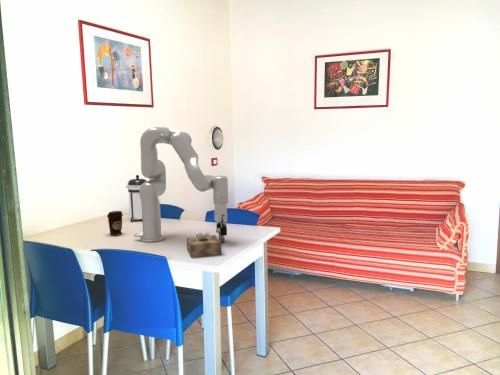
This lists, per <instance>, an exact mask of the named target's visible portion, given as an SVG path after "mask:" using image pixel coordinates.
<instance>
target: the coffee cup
mask: <svg viewBox="0 0 500 375" xmlns="http://www.w3.org/2000/svg"><path fill="white" fill-rule="evenodd" d="M123 215H124V214H123V211H120V210H113V211H109V212H108V214H107V216H106V217H107V219H108V220H107V222H108V228H109V233H110V234H109V235H110V236H114V237H115V236H121V235H122V234H123V233H122V229H123Z"/></svg>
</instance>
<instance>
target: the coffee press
mask: <svg viewBox="0 0 500 375" xmlns="http://www.w3.org/2000/svg"><path fill="white" fill-rule="evenodd" d="M146 181H147V179H145V178H140V176H139V174H136V175H135V178H132V179H129V180H128V183H127V184H126V186H125V189H127V192H128V205H129V208H128V209H129V218H130V223H134V221H137V220H142V204H141V198H140V193H139V190H140V186H141V185H142V184H143V183H144V182H146Z"/></svg>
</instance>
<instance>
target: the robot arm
mask: <svg viewBox="0 0 500 375" xmlns="http://www.w3.org/2000/svg"><path fill="white" fill-rule="evenodd" d="M139 140H140V144H139V146H140V172H141V174H142V176H143V177H144V178H147V179H149V180H146V182H144V183H143V184H142V185H141V186H140V190H139V193H140V198H141V204H142V219H141V220H142V221H141V222H142V230H141V231H140V232H134V233H133V234H134V236H133V237H136V238H139V240H140V241H141V242H144V243H155V242H160V241H163V240H165V235H163V234H162V218H161V215H162V214H161V204H160V203H161V202H160V199H159V197H160V196H162V195H164V193H165V192H166V190H167V176H166V175H167V173H166V172H167V171H166V170H167V168H166V166H165V163H164V162H163V161H162V160H161V159H158V153H159V152H158V149H157V145H158V144H167V145H170V146H172V148H173V150H174V151H175V153H176V154H177V155H178V157H179V159H180V160H181V162H182V164H183V165H184V169H185V172H186V175H187V176H188V179H189V180H190V182H191V183H192V185H193V187H194V188H195V189H196V190H197V191H199V192H203V193H204V192H207V191H208V190H212V192H213V194H212V196H213V197H212V198H213V202H212V203H213V204H214V216H213V218H214V221H215V222H216V228H217V227H221V228H220V235H221V236H223V235H225V236H228V233H227V232H228V227H227V223H228V208H227V207H228V205H227V204H228V203H229V181H228V176H227V175H226V176H225V175H209V174H204V173H203V172H202V169H201V168H200V165H199V154H198V153H197V151H196V150H195V148H194V147H193V145H192V137H191V135H190V134H189V133H187V132H185V131H181V130H177V129H172V128H169V127H166V126H165V127H164V126H163V127H162V126H153V127H150V128H147V129H146V130H145V131H144V132H142V135H141V136H140V139H139Z"/></svg>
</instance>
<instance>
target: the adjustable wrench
mask: <svg viewBox="0 0 500 375" xmlns="http://www.w3.org/2000/svg"><path fill="white" fill-rule="evenodd" d="M200 236H210V233H209V232H205V233H203V234H202V232H198V233H197V234H195V237H200Z"/></svg>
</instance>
